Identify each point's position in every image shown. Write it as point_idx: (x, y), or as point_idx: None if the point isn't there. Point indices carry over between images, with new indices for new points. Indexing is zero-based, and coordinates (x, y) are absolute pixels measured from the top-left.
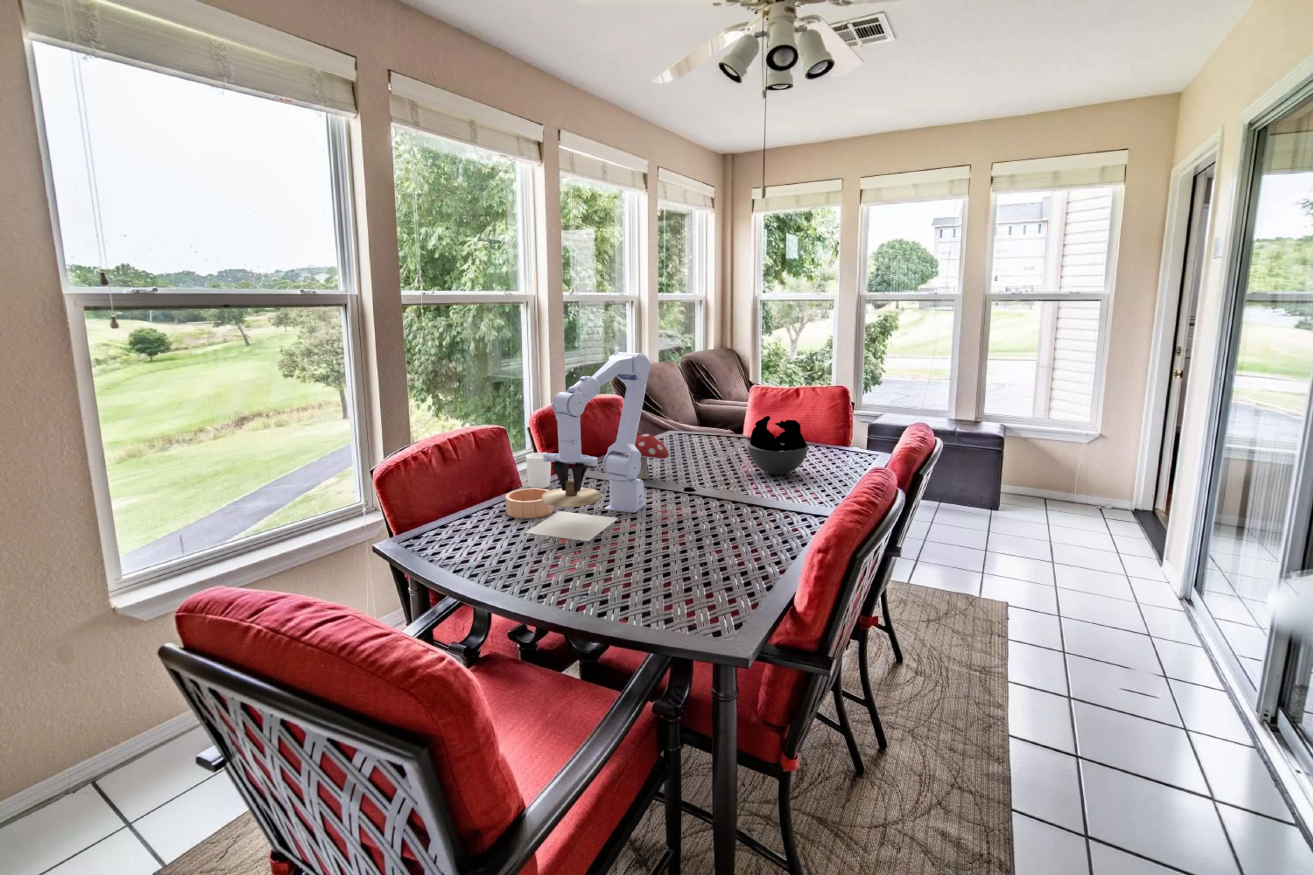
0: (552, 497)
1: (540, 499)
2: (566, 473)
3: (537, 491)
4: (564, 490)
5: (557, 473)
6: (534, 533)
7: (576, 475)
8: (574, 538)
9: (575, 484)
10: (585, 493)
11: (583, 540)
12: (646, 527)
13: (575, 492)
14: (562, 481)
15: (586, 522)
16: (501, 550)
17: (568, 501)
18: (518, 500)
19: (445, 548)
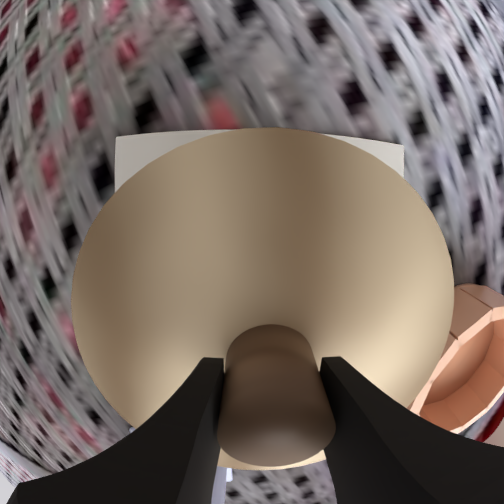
0: (380, 253)
1: (443, 365)
2: (348, 500)
3: (454, 423)
4: (323, 360)
5: (447, 443)
6: (367, 143)
7: (127, 462)
8: (179, 138)
9: (192, 392)
10: None
11: (137, 135)
12: (44, 335)
13: (226, 365)
14: (357, 401)
15: None
16: (381, 9)
17: (202, 189)
18: (486, 373)
19: (492, 34)
